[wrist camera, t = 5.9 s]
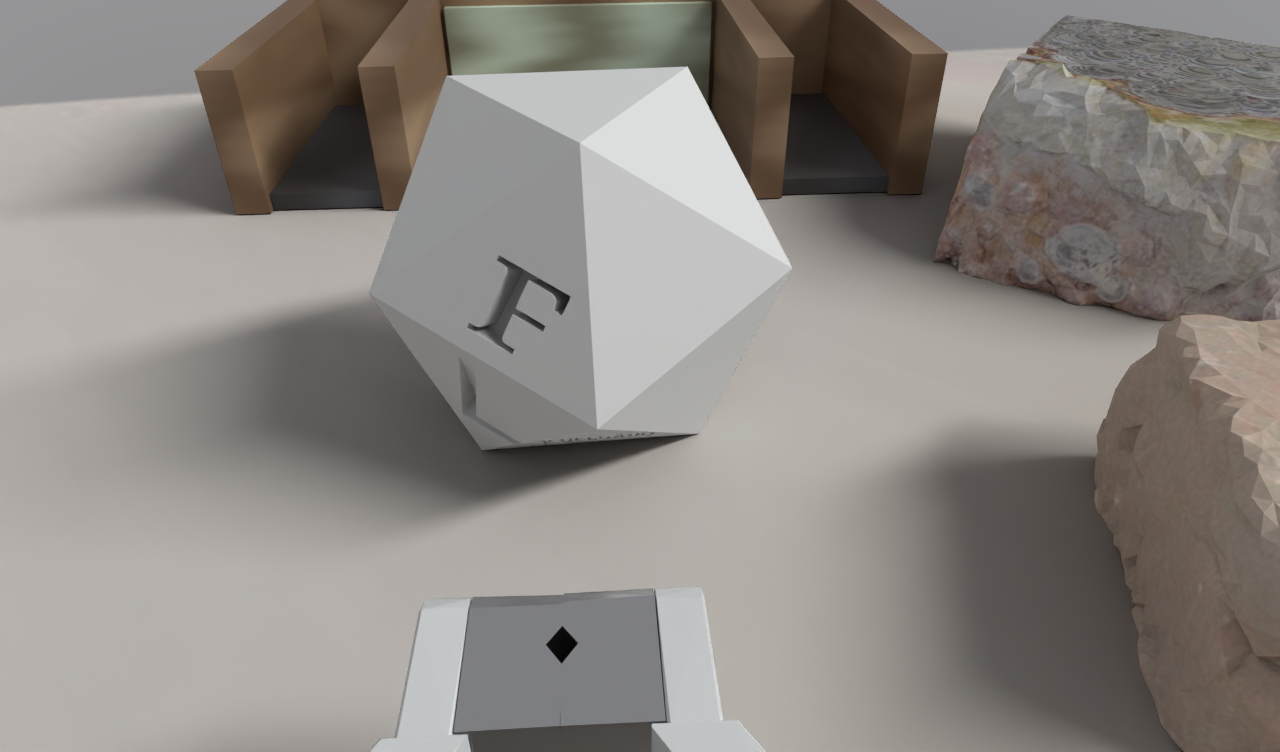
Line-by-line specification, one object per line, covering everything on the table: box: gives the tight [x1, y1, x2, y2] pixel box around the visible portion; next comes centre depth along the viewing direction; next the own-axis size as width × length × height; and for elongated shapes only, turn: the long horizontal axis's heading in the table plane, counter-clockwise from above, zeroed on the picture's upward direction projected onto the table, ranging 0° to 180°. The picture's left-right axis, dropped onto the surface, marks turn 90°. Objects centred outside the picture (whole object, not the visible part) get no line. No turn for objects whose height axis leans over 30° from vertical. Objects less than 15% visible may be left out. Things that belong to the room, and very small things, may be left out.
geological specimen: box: [933, 15, 1280, 322], centre depth 29 cm, size 11×6×15 cm
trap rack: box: [195, 0, 948, 214], centre depth 35 cm, size 25×12×5 cm, turn 93°
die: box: [369, 67, 792, 450], centre depth 19 cm, size 8×9×10 cm
